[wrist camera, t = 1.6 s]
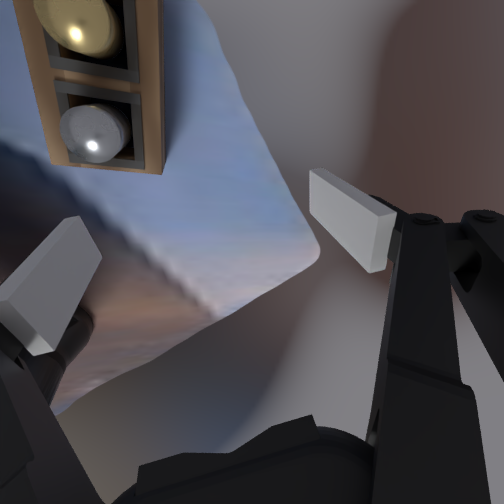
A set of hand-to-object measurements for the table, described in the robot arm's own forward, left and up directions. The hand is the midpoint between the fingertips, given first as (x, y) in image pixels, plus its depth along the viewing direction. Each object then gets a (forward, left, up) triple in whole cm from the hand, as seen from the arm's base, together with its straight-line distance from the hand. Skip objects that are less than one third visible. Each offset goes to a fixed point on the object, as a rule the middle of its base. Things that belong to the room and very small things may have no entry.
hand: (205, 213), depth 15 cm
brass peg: (-10, +10, -22) cm, 26 cm away
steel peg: (-10, +1, -22) cm, 24 cm away
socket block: (-10, +5, -27) cm, 30 cm away
